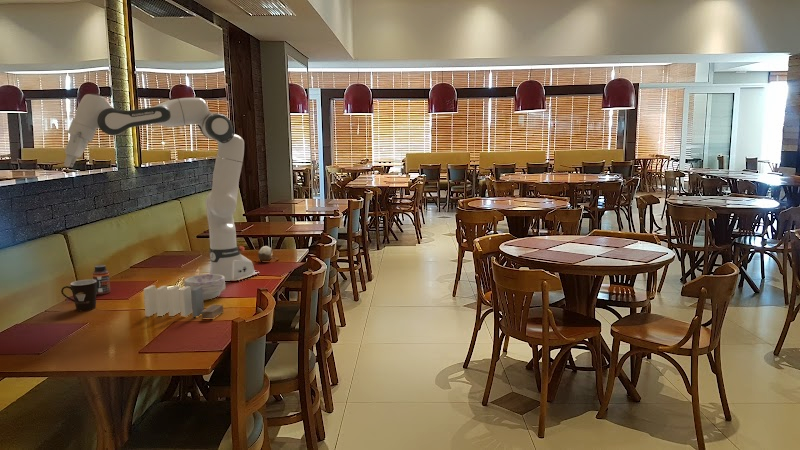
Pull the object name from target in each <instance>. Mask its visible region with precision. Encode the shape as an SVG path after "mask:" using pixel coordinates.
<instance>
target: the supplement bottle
mask: <svg viewBox="0 0 800 450" xmlns="http://www.w3.org/2000/svg"><path fill="white" fill-rule="evenodd" d="M92 280H96V281H97V285H96V295H100V296H101V295H107V294H109V293H111V283H110V282H111V281H110V280H111V279H110V273H109V271H108V270H107V267H106V264H100V265H99V264H98V265H95V266H94V271H93V272H92Z"/></svg>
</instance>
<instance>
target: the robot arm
mask: <svg viewBox="0 0 800 450" xmlns="http://www.w3.org/2000/svg"><path fill="white" fill-rule="evenodd" d="M147 125H161V126H163V127H170V128H171V127H173V128H174V127H183V126H189V125H197V126H198V128H199V130H200V132H201V134H202V135H203V137H206V139H209V140H213V141H216V143H217V154H216V157H215V162H214V168H213V172H212V173H213V174H212V184H211V191H210V192H209V193H208V194H207V195H206V198H205V209H206V217H207V225H208V232H209V246H210V247H209V259H210V270H209V274H217V275H223V276H224V277H225V281H230V280H240V279H243V278H247V277H250V276H252V275H255V274H257V273H260V271H258V272H255V271H257V270H255V267H254V264H253V261H252V260H251V259H249V258H247V257H246V256H245V255H243V254H241V252H244V251H245V247H244V246H242V245H240V246H238V245H237V232H236V225H235V219H234V213H235V212H236V210H237V205H238V204H237V203H238V195H239V185H240V183H239V182H240V176H241V173H242V167H243V162H244V156H245V140H244V139H243V137H242V136H240V135H238V134H236V133H235V130H234V128H233V125H232V122H231V120H230V118H229V117H228V116H226V115H225V114H222V113H220V112H219V113H215V112H214V113H213V112H211V111H210V108H209V106H208V104H207V101H205V100H204V99H203V98H201V97H181V98H174V99H170V100H166V101H164V102H161V103H158V104H156V105H154V106H151V107H145V108H138V109H137V108H136V109H131V110H122V109H119V108H116V107H114V106H113V105H112V104H111V103H110V102H109V101H108V99H107V97H105V96H102V95H99V94H96V93H85V94H84V96H82V98H81V99H80V101H79V104H78V105H77V107H76V111H75V116H74V118H73V119H72V120H71V123H70V126H69V128H68V130H67V134H70V136H69V140H68V141H67V144H66V147H65V150H64V153H65V154H66V155H65V160H64V163H63V166H64V167H66V168H73V167H74V164H75V163H76V161H77V159H78V158H81V157H82V156H83V154H84V152H85V150H86V148H87V146H88V144H89V142H93V140H94V137H95V135H96V132H97V130H98V129H99V130H100V131H102V132H103V133H104V134H106V135H109V136H119V135H121V134H122V133H123V132H124V131H126V130H128V129H130V128H134V127H135V128H136V127H142V126H147Z"/></svg>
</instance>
